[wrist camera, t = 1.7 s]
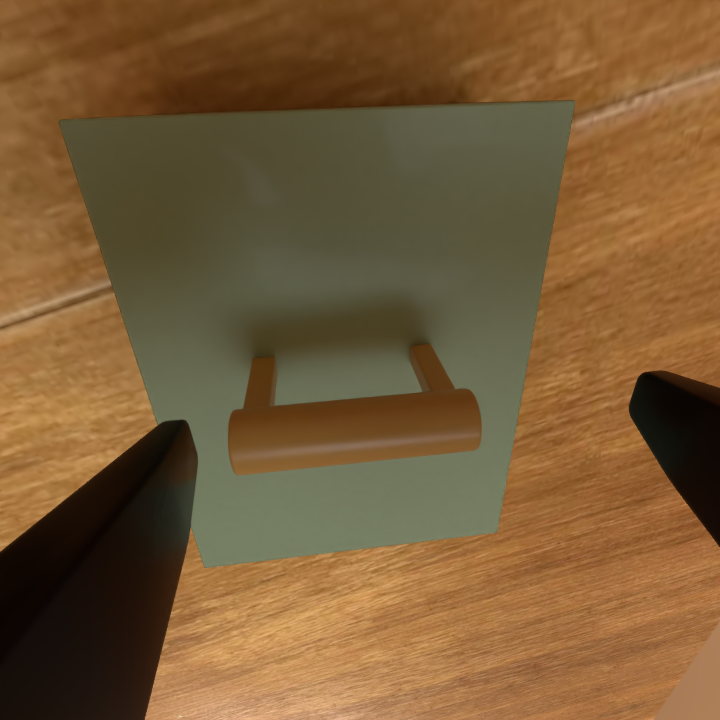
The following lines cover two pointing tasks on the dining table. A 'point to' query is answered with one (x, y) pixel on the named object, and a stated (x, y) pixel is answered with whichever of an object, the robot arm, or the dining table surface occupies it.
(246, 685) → the dining table surface
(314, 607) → the dining table surface
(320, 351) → the lid
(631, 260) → the dining table surface
